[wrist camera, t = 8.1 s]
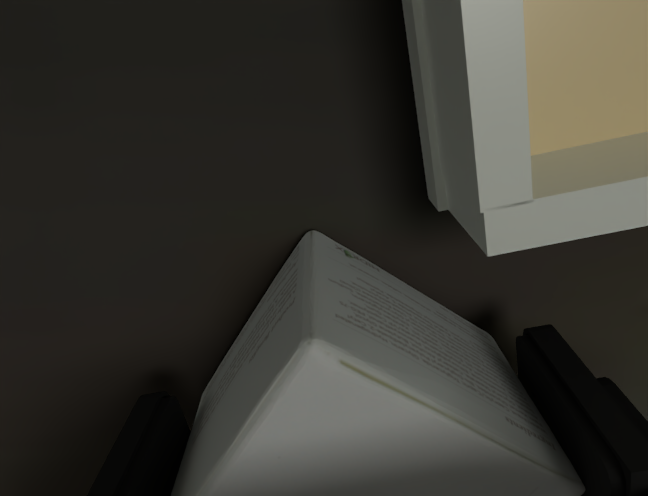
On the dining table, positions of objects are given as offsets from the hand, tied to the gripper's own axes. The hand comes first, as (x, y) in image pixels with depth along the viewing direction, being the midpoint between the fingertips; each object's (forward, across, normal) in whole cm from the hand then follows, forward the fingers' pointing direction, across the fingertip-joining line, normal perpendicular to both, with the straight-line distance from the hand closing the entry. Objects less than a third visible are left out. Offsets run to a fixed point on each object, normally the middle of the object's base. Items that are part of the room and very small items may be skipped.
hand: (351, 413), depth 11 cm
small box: (+2, 0, 0) cm, 2 cm away
